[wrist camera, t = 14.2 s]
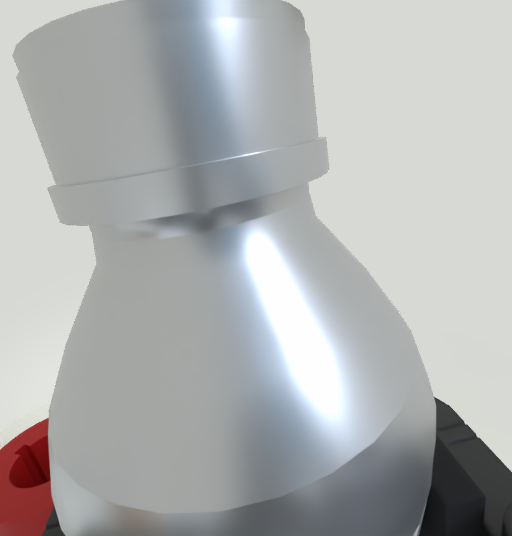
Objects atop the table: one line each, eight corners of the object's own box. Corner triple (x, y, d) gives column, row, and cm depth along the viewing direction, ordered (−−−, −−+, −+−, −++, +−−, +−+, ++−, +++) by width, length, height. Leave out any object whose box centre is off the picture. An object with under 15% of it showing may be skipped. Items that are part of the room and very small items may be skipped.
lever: (162, 476, 30) (140, 416, 28) (78, 610, 22) (38, 540, 20) (18, 443, 37) (-9, 392, 34) (-88, 537, 29) (-132, 478, 26)
